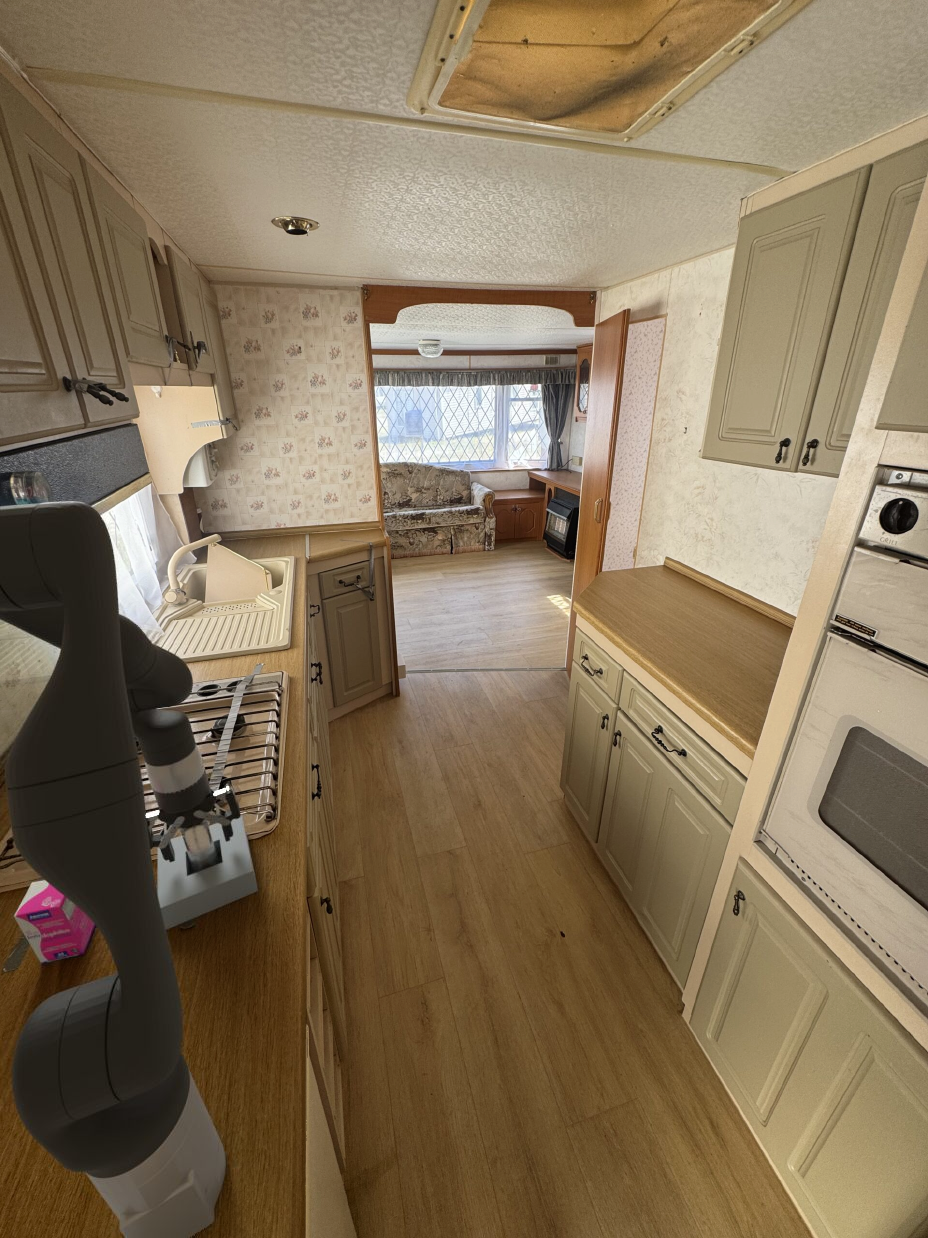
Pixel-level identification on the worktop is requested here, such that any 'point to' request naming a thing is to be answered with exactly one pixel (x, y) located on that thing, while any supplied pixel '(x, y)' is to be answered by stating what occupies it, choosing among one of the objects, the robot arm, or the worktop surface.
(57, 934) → the supplement box
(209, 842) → the pin
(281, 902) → the worktop surface
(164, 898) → the bore block
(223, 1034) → the worktop surface
